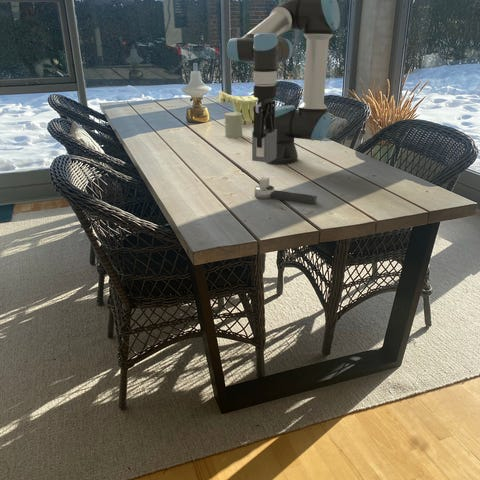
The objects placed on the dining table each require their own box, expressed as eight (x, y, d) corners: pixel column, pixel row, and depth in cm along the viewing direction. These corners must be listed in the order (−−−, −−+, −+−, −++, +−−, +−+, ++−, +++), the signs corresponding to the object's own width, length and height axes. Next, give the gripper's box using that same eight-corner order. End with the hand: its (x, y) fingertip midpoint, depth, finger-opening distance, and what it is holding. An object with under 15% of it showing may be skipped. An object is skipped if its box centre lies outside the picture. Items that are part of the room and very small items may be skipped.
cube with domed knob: (259, 156, 174) (259, 127, 169) (276, 157, 171) (276, 128, 167) (252, 160, 168) (252, 130, 164) (269, 162, 166) (269, 132, 162)
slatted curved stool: (268, 117, 301) (268, 87, 293) (274, 122, 287) (274, 91, 279) (219, 119, 297) (218, 89, 289) (223, 125, 282) (222, 93, 275)
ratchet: (259, 191, 180) (259, 174, 177) (318, 200, 171) (319, 182, 169) (251, 197, 175) (251, 180, 172) (312, 206, 166) (313, 188, 163)
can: (241, 138, 254) (240, 114, 249) (223, 137, 256) (222, 114, 250) (243, 133, 262) (243, 111, 257) (226, 133, 264) (226, 111, 259)
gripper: (265, 80, 169) (265, 146, 178) (242, 87, 153) (242, 159, 163) (286, 81, 166) (284, 148, 176) (264, 89, 150) (263, 162, 160)
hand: (264, 153), depth 169 cm, fingers closed on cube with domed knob, 6 cm apart
